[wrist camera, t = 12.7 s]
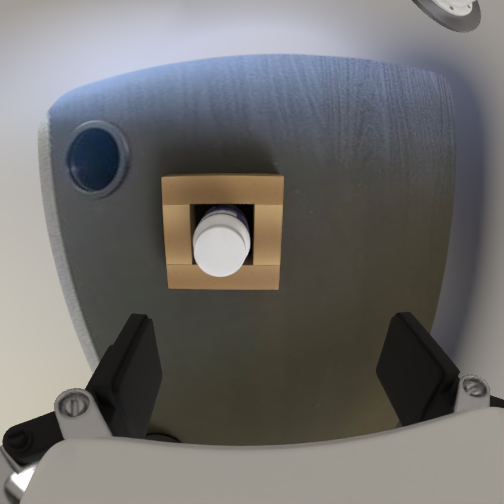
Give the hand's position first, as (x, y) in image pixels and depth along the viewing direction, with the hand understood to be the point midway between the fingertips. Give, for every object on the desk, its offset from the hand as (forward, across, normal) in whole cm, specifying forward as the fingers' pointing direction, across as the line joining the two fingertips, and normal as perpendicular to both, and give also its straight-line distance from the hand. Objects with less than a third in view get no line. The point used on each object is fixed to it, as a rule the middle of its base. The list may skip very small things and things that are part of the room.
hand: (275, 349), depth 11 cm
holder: (+26, +3, +2) cm, 26 cm away
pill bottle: (+26, +3, +2) cm, 26 cm away
